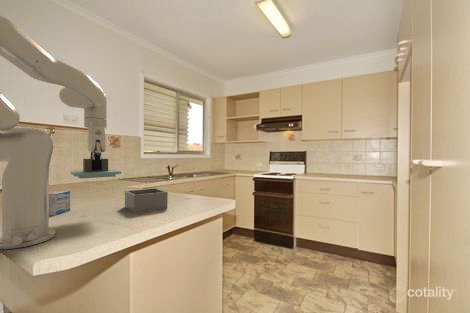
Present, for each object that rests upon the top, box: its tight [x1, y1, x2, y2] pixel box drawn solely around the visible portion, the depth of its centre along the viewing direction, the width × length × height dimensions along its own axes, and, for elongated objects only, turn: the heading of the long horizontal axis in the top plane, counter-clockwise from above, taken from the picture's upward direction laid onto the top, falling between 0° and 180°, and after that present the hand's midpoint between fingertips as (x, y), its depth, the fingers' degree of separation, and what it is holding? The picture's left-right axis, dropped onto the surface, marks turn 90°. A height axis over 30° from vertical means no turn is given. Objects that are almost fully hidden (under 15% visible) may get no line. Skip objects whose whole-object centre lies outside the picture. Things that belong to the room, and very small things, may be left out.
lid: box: [70, 158, 122, 179], centre depth 87 cm, size 15×15×7 cm
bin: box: [124, 187, 169, 214], centre depth 98 cm, size 14×14×8 cm
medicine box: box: [49, 190, 71, 216], centre depth 91 cm, size 8×4×9 cm, turn 179°
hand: (95, 169), depth 87 cm, fingers closed on lid, 4 cm apart
